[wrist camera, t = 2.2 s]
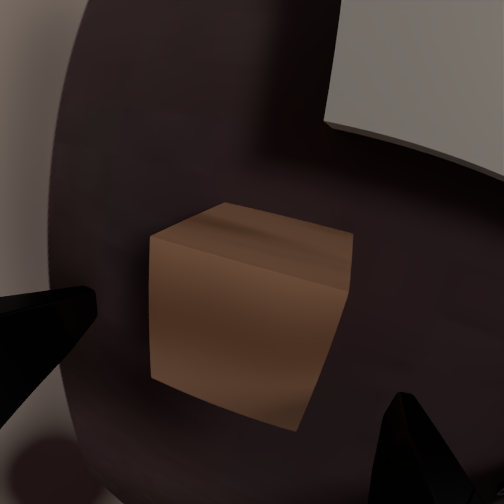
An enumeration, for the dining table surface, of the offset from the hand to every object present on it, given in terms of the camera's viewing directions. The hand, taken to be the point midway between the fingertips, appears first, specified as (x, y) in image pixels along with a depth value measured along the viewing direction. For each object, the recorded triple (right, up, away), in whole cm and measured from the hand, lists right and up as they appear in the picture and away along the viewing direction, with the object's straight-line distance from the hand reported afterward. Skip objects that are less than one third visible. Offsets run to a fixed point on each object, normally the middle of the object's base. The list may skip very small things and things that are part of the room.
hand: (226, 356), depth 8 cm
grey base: (+10, +11, -1) cm, 15 cm away
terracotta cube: (+2, +2, +5) cm, 5 cm away
